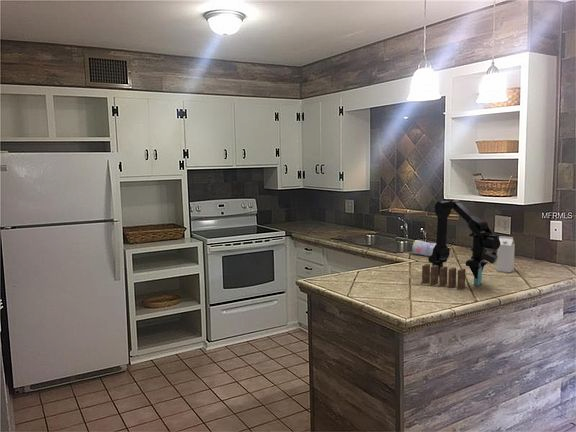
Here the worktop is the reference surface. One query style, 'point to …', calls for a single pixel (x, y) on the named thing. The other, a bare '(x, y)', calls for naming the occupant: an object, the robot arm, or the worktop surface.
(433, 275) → the walnut domino
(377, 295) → the worktop surface
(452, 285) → the walnut domino
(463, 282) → the walnut domino
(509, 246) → the milk carton
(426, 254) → the pencil case
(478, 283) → the teal domino
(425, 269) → the walnut domino
